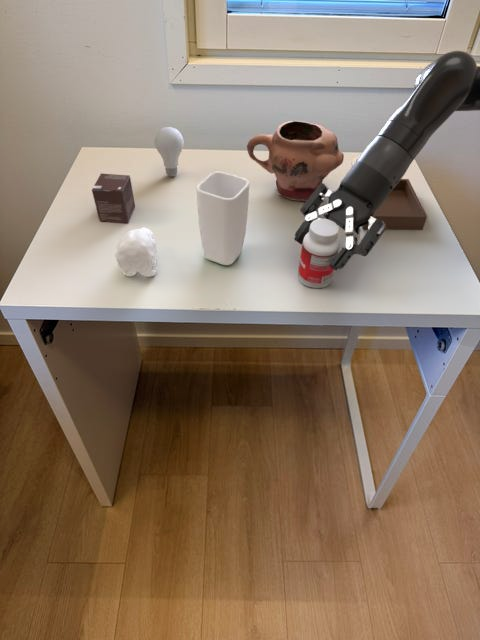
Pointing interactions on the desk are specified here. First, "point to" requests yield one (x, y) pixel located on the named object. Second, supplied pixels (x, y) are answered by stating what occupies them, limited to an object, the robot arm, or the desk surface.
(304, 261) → the pill bottle
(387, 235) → the desk surface
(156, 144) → the lightbulb
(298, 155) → the pink face mug
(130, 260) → the white lumpy curved piece
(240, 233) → the cup
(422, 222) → the tray
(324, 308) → the desk surface
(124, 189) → the box
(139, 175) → the desk surface
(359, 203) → the robot arm
